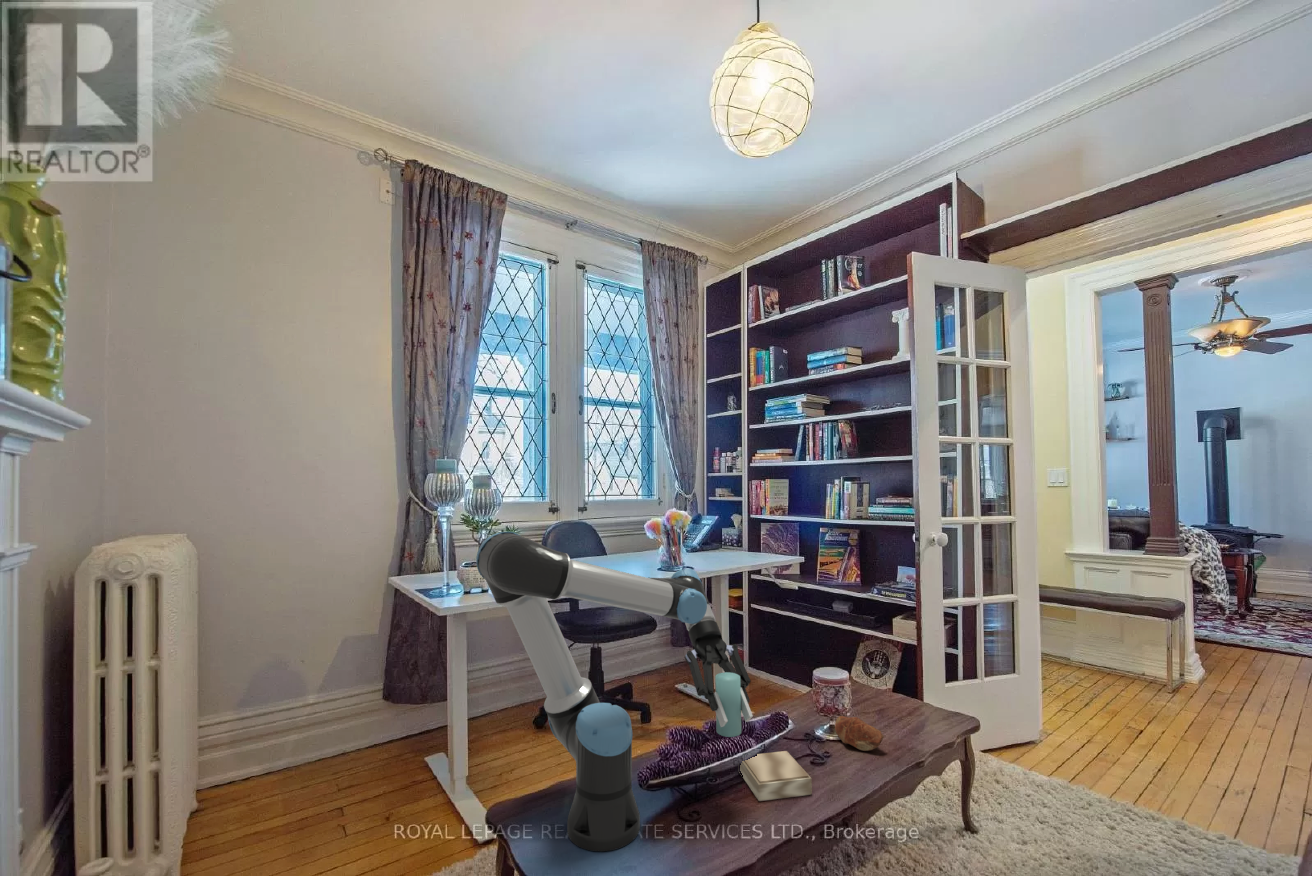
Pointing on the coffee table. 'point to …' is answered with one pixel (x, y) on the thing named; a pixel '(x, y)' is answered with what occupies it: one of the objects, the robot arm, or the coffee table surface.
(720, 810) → the coffee table surface
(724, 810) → the coffee table surface
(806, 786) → the block
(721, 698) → the teal pillar
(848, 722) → the bread roll
